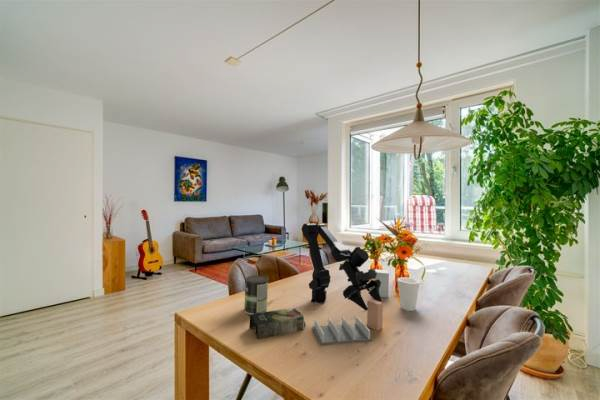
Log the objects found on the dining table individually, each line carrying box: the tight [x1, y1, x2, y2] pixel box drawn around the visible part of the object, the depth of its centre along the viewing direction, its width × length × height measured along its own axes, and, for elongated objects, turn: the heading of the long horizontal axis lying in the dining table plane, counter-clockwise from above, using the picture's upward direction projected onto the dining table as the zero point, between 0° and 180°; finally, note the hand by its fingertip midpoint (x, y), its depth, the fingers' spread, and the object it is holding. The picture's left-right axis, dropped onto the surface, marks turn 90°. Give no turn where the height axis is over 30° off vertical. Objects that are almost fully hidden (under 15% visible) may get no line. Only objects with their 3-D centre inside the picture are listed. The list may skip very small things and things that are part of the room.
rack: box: [311, 315, 373, 345], centre depth 96 cm, size 12×19×4 cm, turn 100°
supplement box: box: [374, 269, 390, 298], centre depth 140 cm, size 7×7×13 cm
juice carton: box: [249, 307, 307, 340], centre depth 99 cm, size 20×10×6 cm, turn 116°
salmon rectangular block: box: [366, 298, 384, 332], centre depth 103 cm, size 5×3×10 cm, turn 37°
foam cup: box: [397, 277, 420, 312], centre depth 122 cm, size 10×9×13 cm
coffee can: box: [243, 275, 269, 316], centre depth 116 cm, size 10×10×14 cm
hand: (374, 307), depth 103 cm, fingers open, 9 cm apart
